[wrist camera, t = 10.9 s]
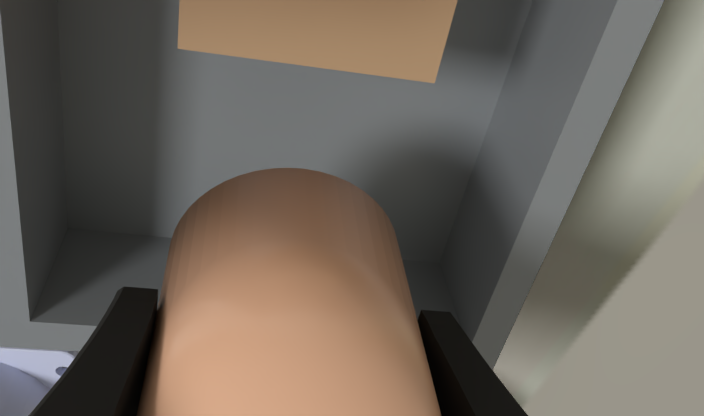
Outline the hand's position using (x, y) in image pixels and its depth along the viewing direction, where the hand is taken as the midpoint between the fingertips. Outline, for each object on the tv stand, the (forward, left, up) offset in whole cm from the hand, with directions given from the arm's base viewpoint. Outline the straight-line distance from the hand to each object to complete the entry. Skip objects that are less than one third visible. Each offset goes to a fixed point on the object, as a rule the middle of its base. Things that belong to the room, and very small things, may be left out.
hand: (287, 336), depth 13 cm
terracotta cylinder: (0, 0, -2) cm, 2 cm away
